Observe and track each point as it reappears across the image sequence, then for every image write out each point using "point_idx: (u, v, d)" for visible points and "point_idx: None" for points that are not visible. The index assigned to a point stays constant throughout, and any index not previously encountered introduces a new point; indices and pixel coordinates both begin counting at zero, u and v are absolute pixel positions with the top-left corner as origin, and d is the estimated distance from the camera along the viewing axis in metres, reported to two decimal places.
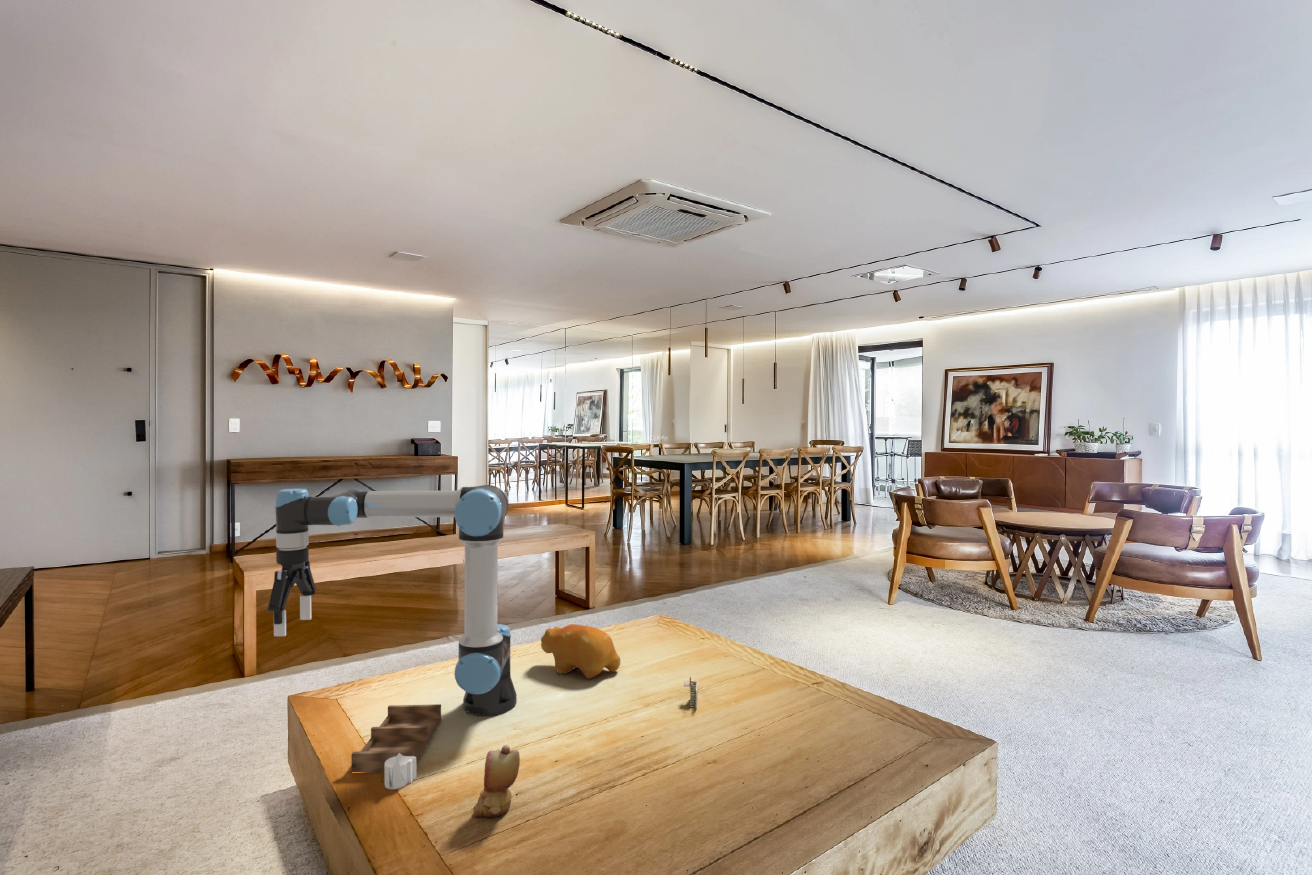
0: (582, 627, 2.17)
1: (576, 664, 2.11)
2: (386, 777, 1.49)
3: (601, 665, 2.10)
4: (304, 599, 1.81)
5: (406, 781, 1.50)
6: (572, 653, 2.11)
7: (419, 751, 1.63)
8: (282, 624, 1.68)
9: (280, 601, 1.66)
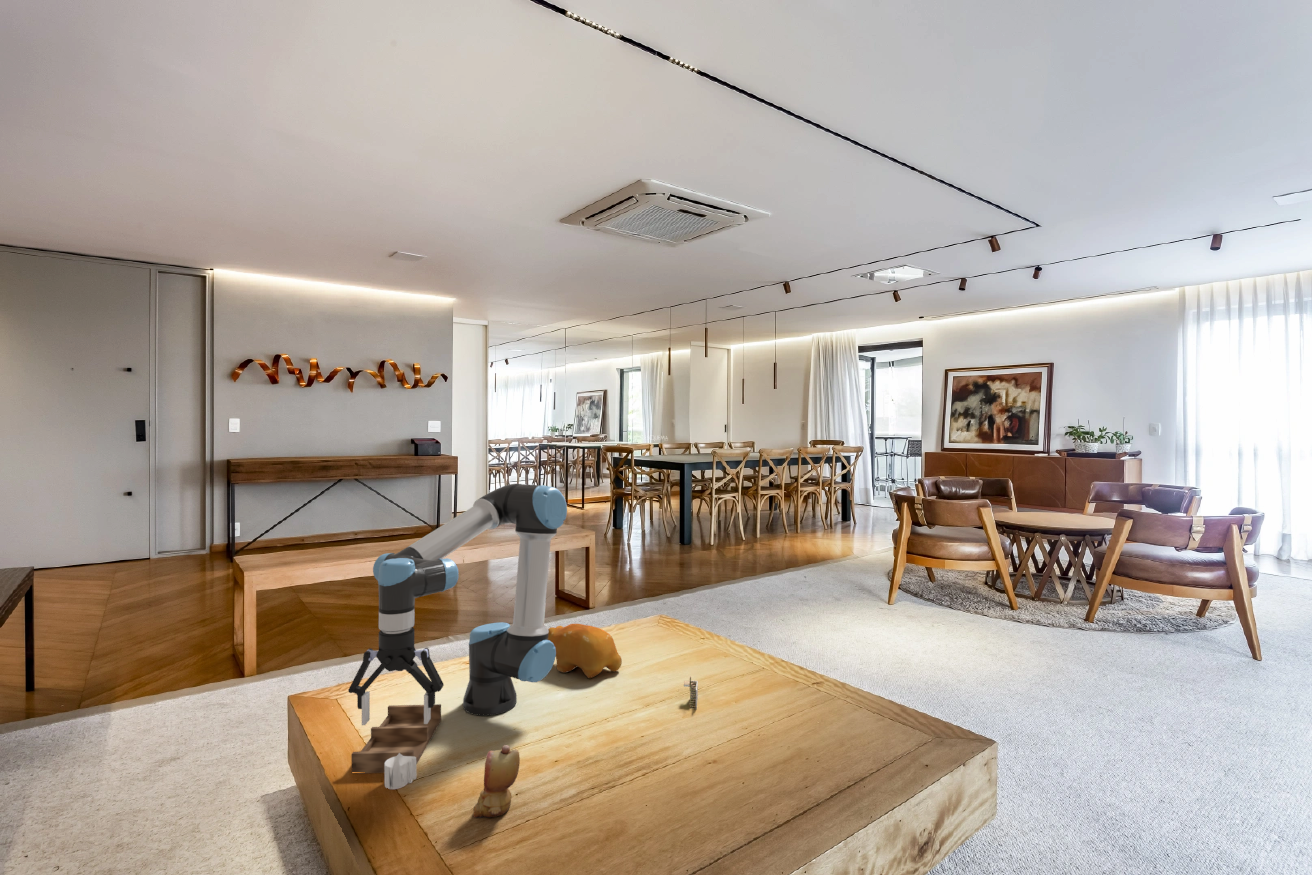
0: (583, 626, 2.18)
1: (576, 663, 2.11)
2: (386, 777, 1.49)
3: (602, 665, 2.10)
4: None
5: (406, 781, 1.50)
6: (573, 652, 2.12)
7: (419, 751, 1.63)
8: None
9: (354, 683, 1.47)
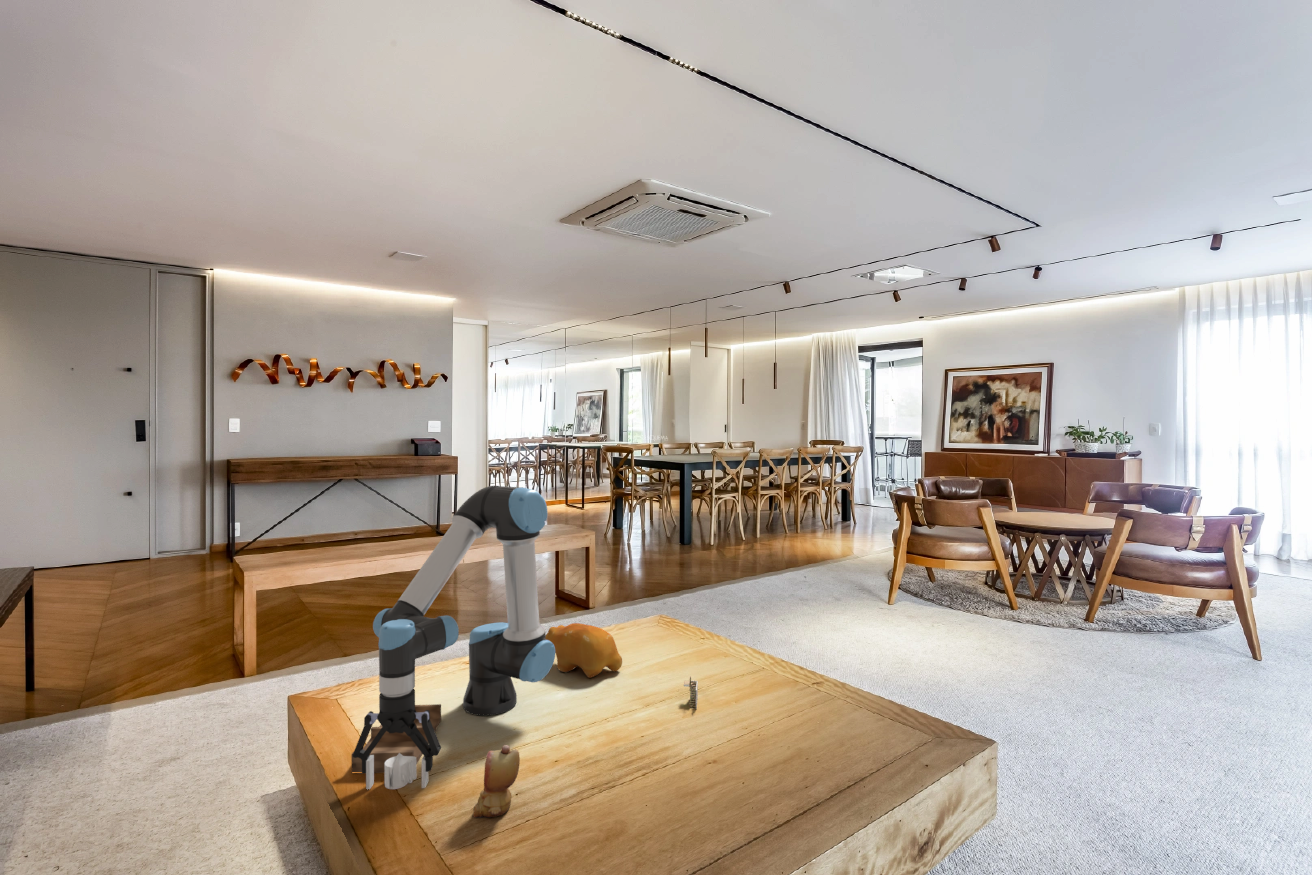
0: (584, 626, 2.18)
1: (577, 663, 2.12)
2: (386, 777, 1.49)
3: (602, 665, 2.10)
4: None
5: (406, 781, 1.50)
6: (573, 651, 2.13)
7: (419, 751, 1.63)
8: None
9: (358, 748, 1.48)
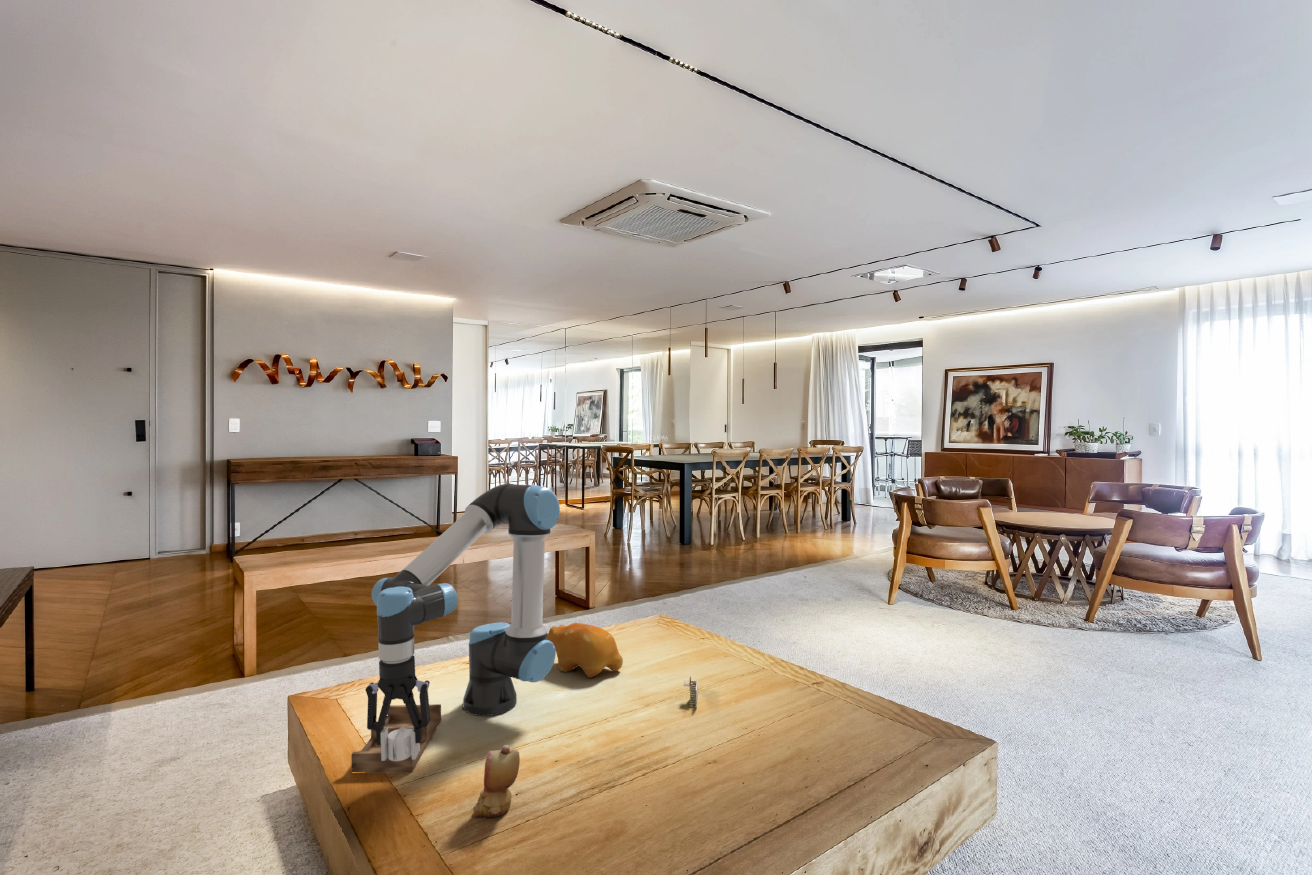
0: (585, 626, 2.18)
1: (577, 663, 2.12)
2: (390, 749, 1.49)
3: (602, 665, 2.10)
4: None
5: (410, 753, 1.51)
6: (573, 651, 2.13)
7: (419, 751, 1.63)
8: None
9: (369, 719, 1.48)
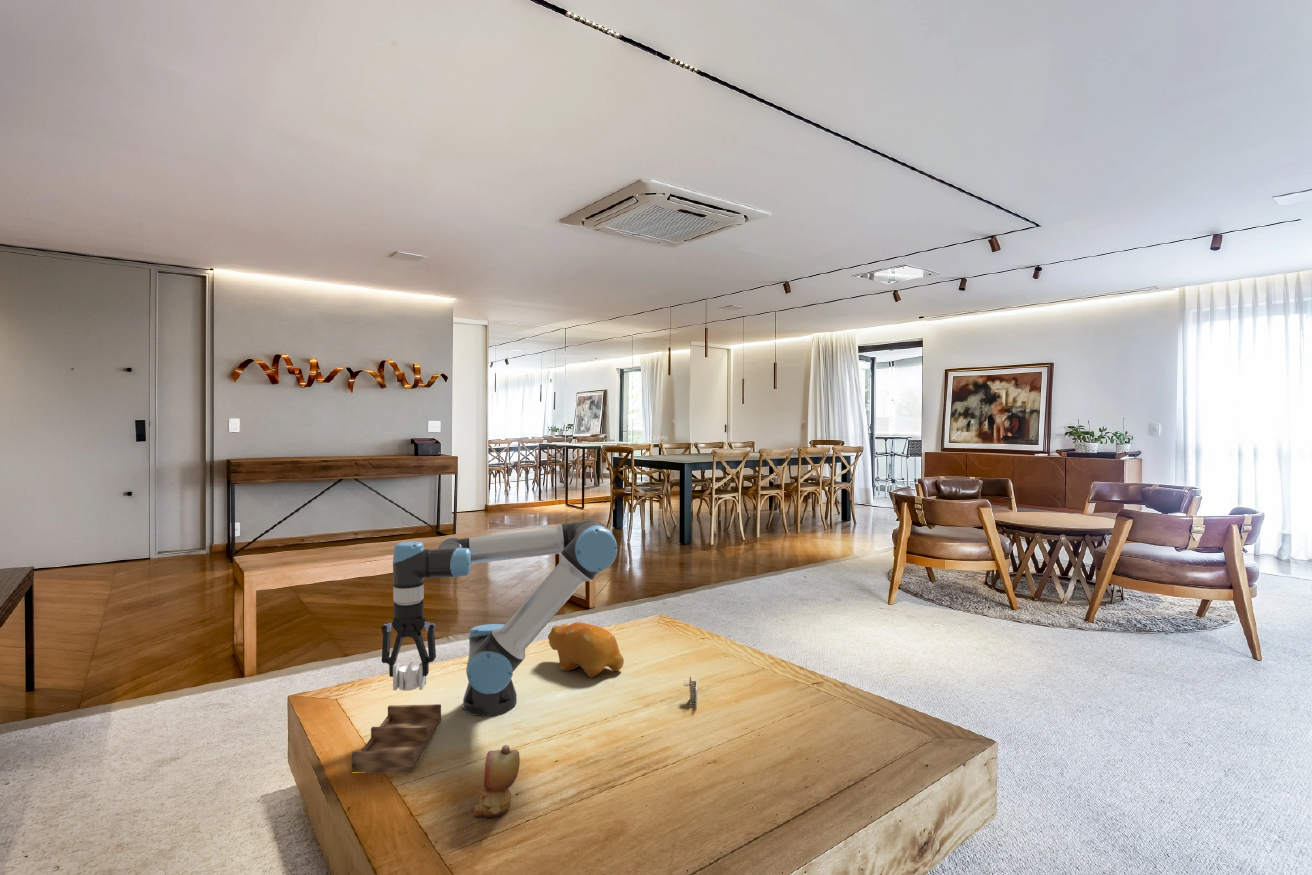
0: (586, 625, 2.19)
1: (577, 662, 2.13)
2: (400, 680, 1.73)
3: (602, 664, 2.11)
4: None
5: (417, 685, 1.75)
6: (574, 650, 2.13)
7: (419, 751, 1.63)
8: None
9: (384, 654, 1.72)
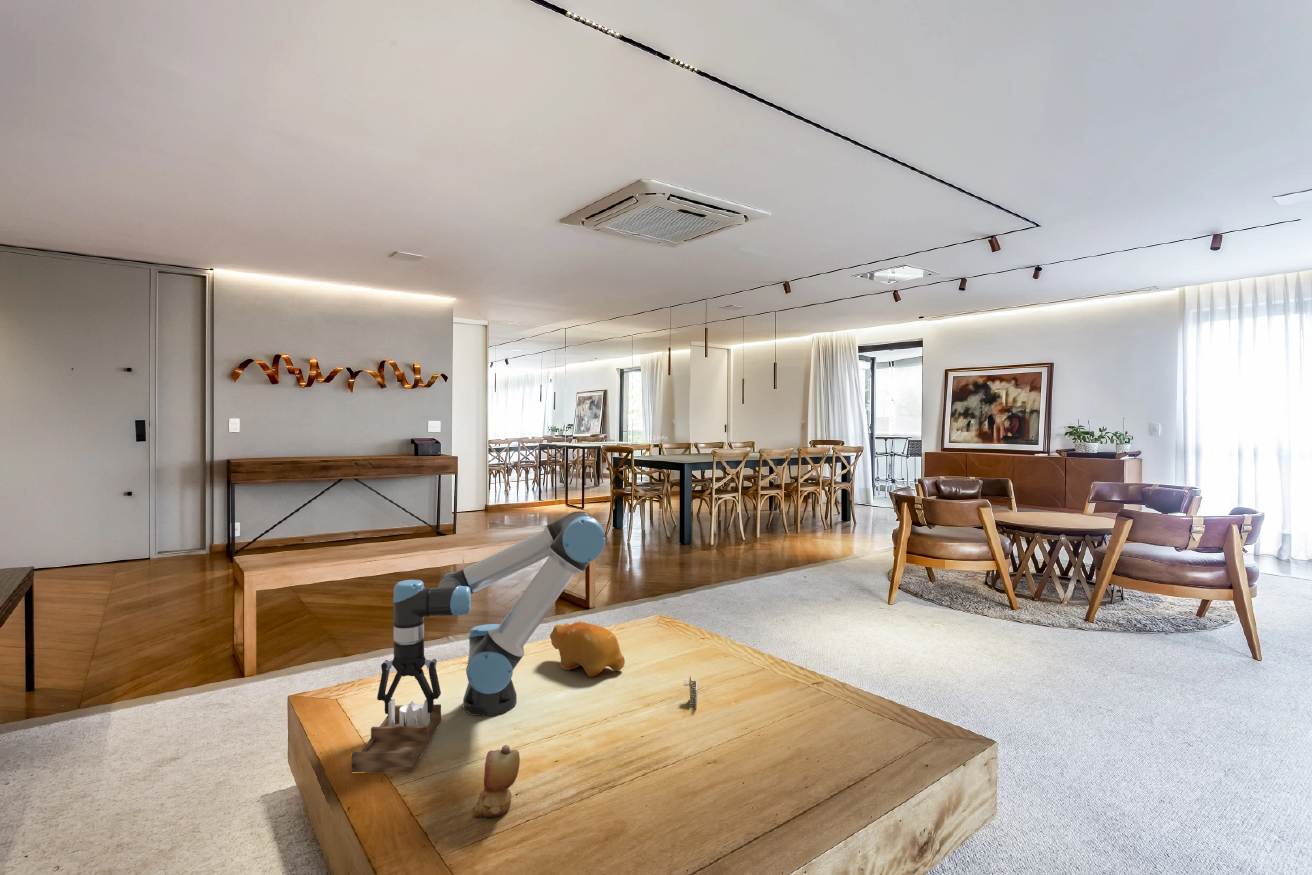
0: (587, 625, 2.19)
1: (578, 661, 2.13)
2: (401, 721, 1.74)
3: (602, 664, 2.11)
4: None
5: (418, 724, 1.75)
6: (575, 650, 2.14)
7: (419, 751, 1.63)
8: None
9: (380, 691, 1.72)
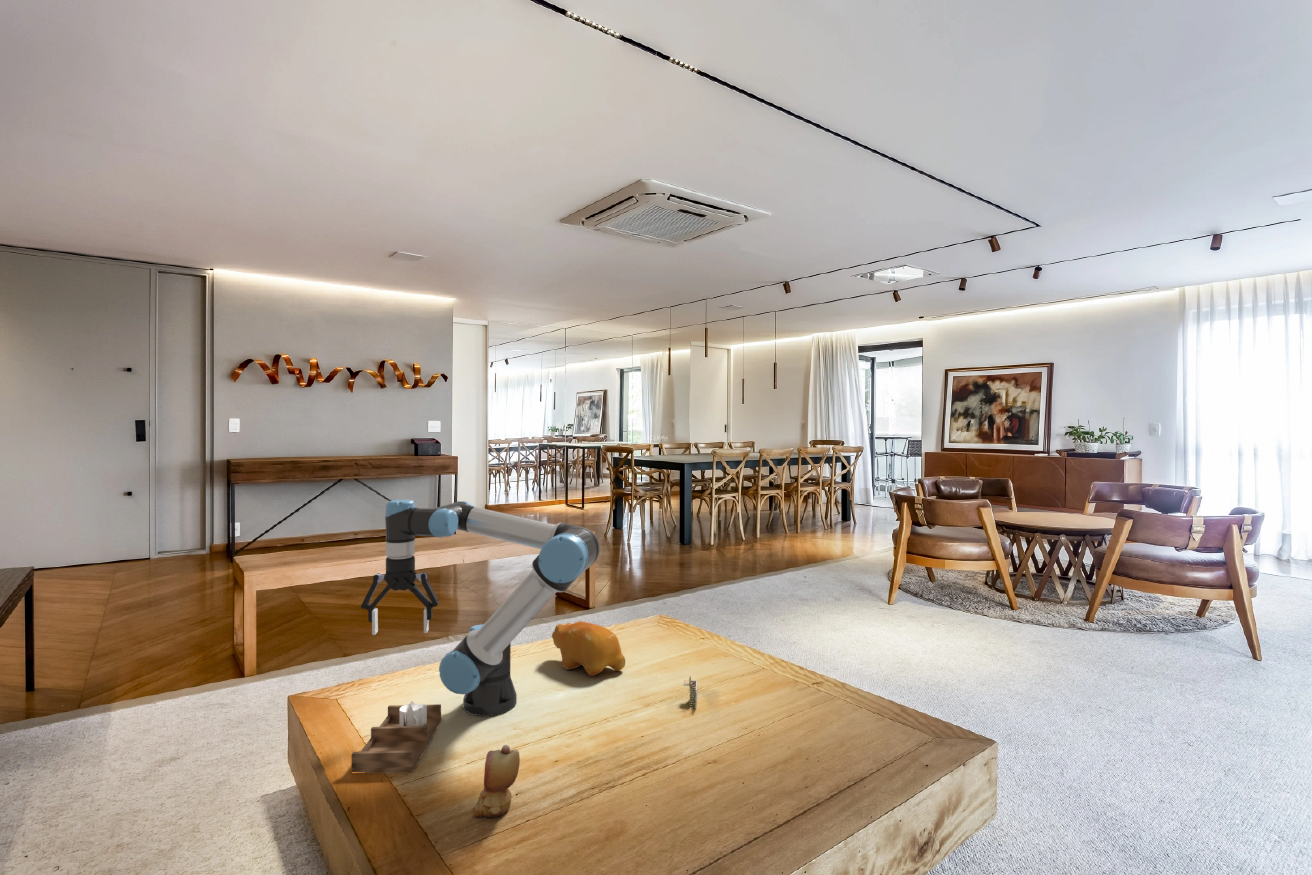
0: (588, 625, 2.19)
1: (578, 661, 2.14)
2: (401, 721, 1.74)
3: (602, 664, 2.11)
4: None
5: (418, 724, 1.75)
6: (575, 649, 2.14)
7: (419, 751, 1.63)
8: None
9: (365, 600, 1.80)
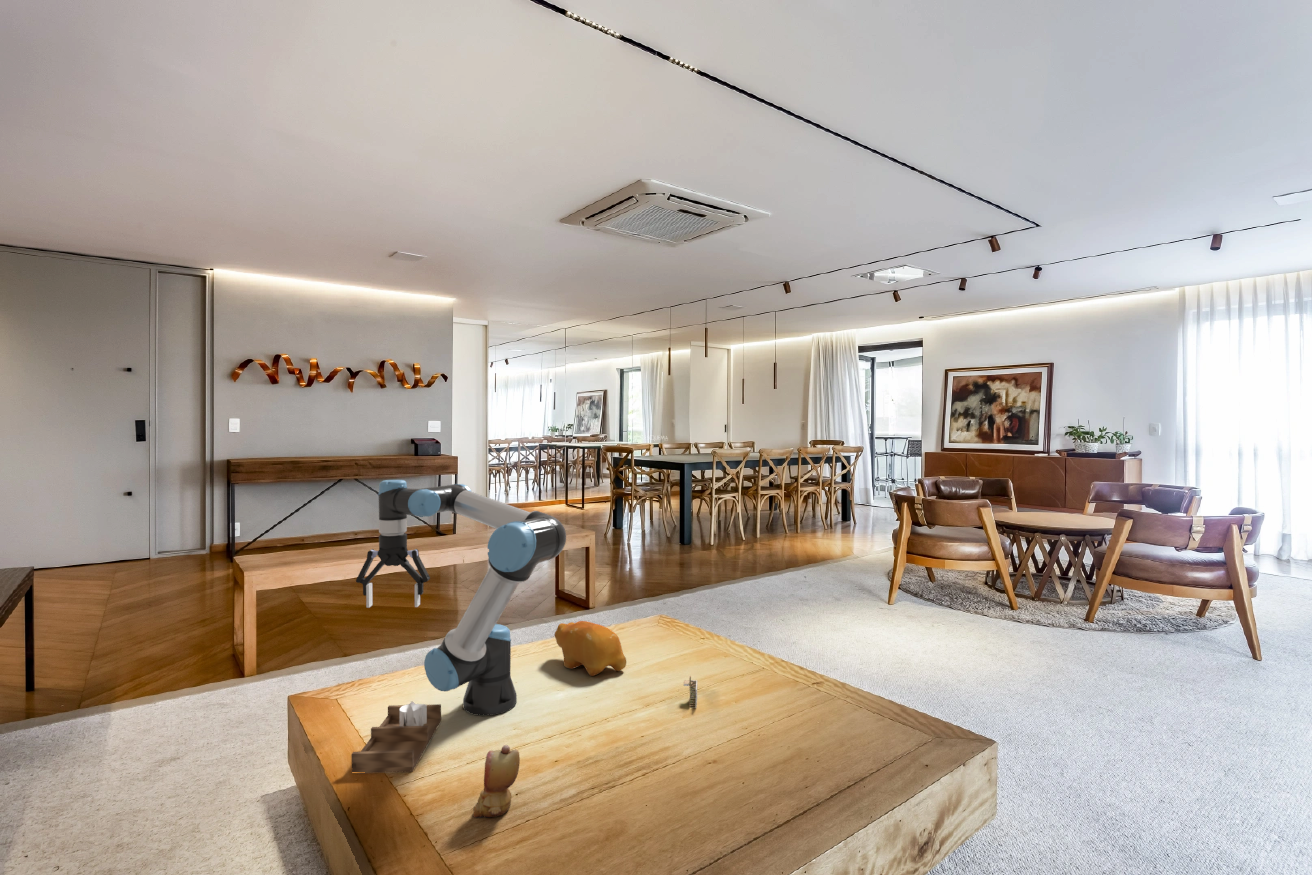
0: (589, 624, 2.20)
1: (579, 660, 2.14)
2: (401, 721, 1.74)
3: (602, 664, 2.11)
4: None
5: (418, 724, 1.75)
6: (576, 649, 2.15)
7: (419, 751, 1.63)
8: None
9: (360, 575, 1.90)
